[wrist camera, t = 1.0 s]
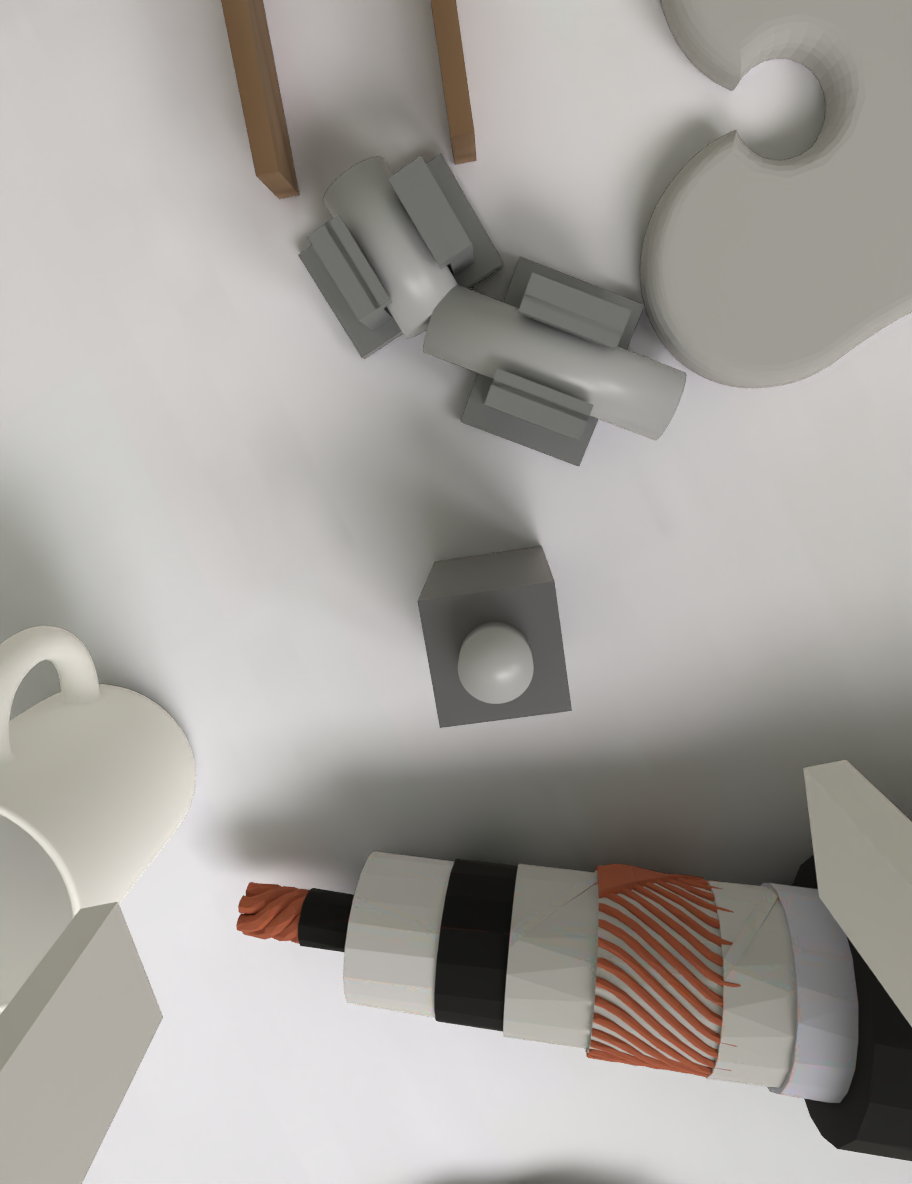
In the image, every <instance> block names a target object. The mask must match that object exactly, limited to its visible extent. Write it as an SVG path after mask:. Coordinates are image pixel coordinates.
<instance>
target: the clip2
mask: <svg viewBox="0 0 912 1184" xmlns="http://www.w3.org/2000/svg"><path fill="white" fill-rule="evenodd" d="M323 202H324V204H325V206H326V207H327V209H328V211H329V212H330V214H331V216H332V217H333V219H331V220H330V221H328V222H327V223H326V224H324V225H323V226H321V227H320V228H319V229H317V230H316V231H314V232H313V233H312V234H310V235H309V236H307V238H308V239H309V241H310V242H311V244H312V246H310V247H309V248H307V249H306V250H305V251H303V252H302V253H300V254H299V257H300V259H301V260H302V262H303V263H304V265H305V267H306V268H307V270H308V272H309V273H310V275H311V276H312V278H313V280H314V281H315V283H316V284H317V286H318V288H319V289H320V291H321V292H322V294H323V296H324V297H325V299H326V301H327V302H328V304H329V305H330V307H331V309H332V310H333V312H334V313H335V315H336V317H337V318H338V320H339V321H340V323H341V325H342V326H343V328H344V330H345V331H346V333H347V334H348V336H349V338H350V339H351V341H352V342H353V344H354V346H355V347H356V349H357V350H358V352H359V354H360V355H361V357H362V358H364V359H365V358H367V357H368V356H370V355H371V354H373V353H374V352H376V351H377V350H379V349H380V348H382V347H383V346H385V345H386V344H388V343H389V342H391V341H392V340H394V339H395V338H397V337H398V336H400V335H401V334H404V336H405V337H406V339H408V338H412V337H414V336H417V335H419V334H421V333H423V332H424V331H426V330H427V328H428V325H429V321H430V318H431V315H432V314H433V310H434V308H435V307H436V306H437V305H438V303H439V302H440V301H441V300H442V299H443V297H444V296H445V295H446V294H447V293H448V292H449V291H450V290H451V289H452V288H453V287H455V286H456V285H460V286H462V287H465V288H467V289H470V288H471V287H473V286H474V285H476V284H477V283H479V282H480V281H482V280H483V279H485V278H486V277H488V276H489V275H490V274H492V273H493V272H495V271H496V270H498V269H499V268H501V267H502V266H503V261H502V259H501V258H500V256H499V254H498V252H497V251H496V249H495V247H494V245H493V244H492V242H491V240H490V238H489V237H488V235H487V233H486V231H485V230H484V228H483V226H482V224H481V223H480V221H479V219H478V217H477V216H476V214H475V212H474V210H473V209H472V207H471V205H470V203H469V202H468V200H467V198H466V196H465V195H464V193H463V191H462V189H461V188H460V186H459V184H458V182H457V181H456V179H455V177H454V176H453V174H452V172H451V170H450V169H449V167H448V165H447V163H446V162H445V160H444V158H443V156H442V155H441V154H440V155H438V156H437V157H435V158H434V159H433V160H431V161H430V162H428V163H427V164H426V163H425V161H424V160H423V158H422V156H419V157H418V158H417V159H415V160H414V161H412V162H411V163H410V164H408V165H407V166H405V167H404V168H403V169H401V170H400V171H398V172H397V173H396V174H394V175H393V173H392V171H391V169H390V168H389V166H388V164H387V163H386V161H385V159H384V158H383V157H372V158H369V159H366V160H364V161H362V162H360V163H358V164H356V165H354V166H353V167H351V168H350V169H348V170H347V171H345V172H344V173H343V174H342V175H340V176H339V177H338V178H337V179H336V180H335V181H334V182H333V183H332V184H331V186H330V187H329V188H328V190H327V191H326V193H325V195H324V198H323Z"/></svg>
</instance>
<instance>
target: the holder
mask: <svg viewBox="0 0 912 1184" xmlns="http://www.w3.org/2000/svg"><path fill="white" fill-rule="evenodd" d="M661 4H662V8H663V11H664V14H665V17H666V20H667V23H668V25H669V28H670V30H671V32H672V34H673V36H674V38H675V40H676V41H677V43H678V45H679V46H680V48H681V49H682V51H683V52H684V54H685V55H686V56H687V57H688V59H689V60H690V61H691V62H692V63H693V64H694V65H695V66H696V67H697V68H698V69H699V70H700V71H701V72H702V73H703V74H705V75H706V76H707V77H709V78H710V79H711V80H713V81H714V82H715V83H717V84H719V85H721V86H723V87H725V88H727V89H729V90H731V91H732V90H734V89H735V87H736V86H737V84H738V83H739V81H740V80H741V78H742V77H743V76H744V75H745V74H746V73H747V72H748V71H749V70H750V69H751V68H753V67H755V66H756V65H758V64H760V63H762V62H763V61H767V60H772V59H790V60H793V61H796V62H799V63H801V64H802V65H804V66H805V67H807V68H808V69H809V70H811V71H812V73H813V74H814V75H815V76H816V78H817V79H818V80H819V82H820V85H821V87H822V90H823V92H824V97H825V104H826V111H825V121H824V124H823V127H822V130H821V133H820V134H819V136H818V138H817V139H816V141H815V142H814V144H813V146H812V147H811V148H810V149H809V150H807V151H806V152H804V153H803V154H801V155H799V156H797V157H793V158H790V159H787V160H772V159H767V158H763V157H761V156H759V155H758V154H756V153H754V152H753V151H751V150H750V149H749V148H748V147H747V146H746V145H745V144H744V143H743V142H742V140H741V138H740V137H739V135H738V133H737V131H736V130H734V131H732V132H730V133H728V134H726V135H724V136H722V137H720V138H719V139H717V140H715V141H714V142H712V143H711V144H709V145H708V146H706V147H705V148H704V149H702V150H701V151H700V152H699V153H697V154H696V155H695V156H694V157H693V158H692V159H691V160H690V161H689V162H688V163H687V164H686V165H685V166H684V167H683V168H682V169H681V170H680V172H679V173H678V174H677V175H676V177H675V178H674V179H673V180H672V182H671V183H670V185H669V186H668V187H667V189H666V190H665V192H664V193H663V195H662V196H661V198H660V200H659V202H658V204H657V205H656V207H655V210H654V212H653V214H652V216H651V219H650V221H649V224H648V227H647V230H646V234H645V238H644V242H643V247H642V254H641V265H640V276H641V289H642V295H643V300H644V304H645V308H646V311H647V314H648V316H649V319H650V321H651V324H652V326H653V328H654V330H655V331H656V333H657V335H658V337H659V338H660V340H661V341H662V343H663V344H664V345H665V347H666V348H667V349H668V350H669V351H670V352H671V354H672V355H673V356H674V357H675V358H677V359H678V360H679V361H680V362H681V363H682V364H683V365H685V366H686V367H687V368H689V369H690V370H692V371H693V372H695V373H697V374H698V375H700V376H702V377H704V378H706V379H709V380H711V381H714V382H717V383H720V384H724V385H728V386H733V387H741V388H764V387H772V386H779V385H784V384H788V383H792V382H796V381H799V380H801V379H804V378H807V377H809V376H811V375H813V374H816V373H818V372H819V371H821V370H823V369H825V368H826V367H828V366H830V365H831V364H833V363H834V362H835V361H837V360H838V359H839V358H841V357H842V356H844V355H845V354H846V353H848V352H849V351H850V350H852V349H853V348H854V347H856V346H857V345H859V344H860V343H862V342H863V341H864V340H866V339H867V338H869V337H870V336H872V335H873V334H875V333H876V332H878V331H879V330H881V329H883V328H884V327H886V326H888V325H889V324H891V323H893V322H894V321H896V320H898V319H899V318H901V317H903V316H905V315H907V314H909V313H911V312H912V0H661Z"/></svg>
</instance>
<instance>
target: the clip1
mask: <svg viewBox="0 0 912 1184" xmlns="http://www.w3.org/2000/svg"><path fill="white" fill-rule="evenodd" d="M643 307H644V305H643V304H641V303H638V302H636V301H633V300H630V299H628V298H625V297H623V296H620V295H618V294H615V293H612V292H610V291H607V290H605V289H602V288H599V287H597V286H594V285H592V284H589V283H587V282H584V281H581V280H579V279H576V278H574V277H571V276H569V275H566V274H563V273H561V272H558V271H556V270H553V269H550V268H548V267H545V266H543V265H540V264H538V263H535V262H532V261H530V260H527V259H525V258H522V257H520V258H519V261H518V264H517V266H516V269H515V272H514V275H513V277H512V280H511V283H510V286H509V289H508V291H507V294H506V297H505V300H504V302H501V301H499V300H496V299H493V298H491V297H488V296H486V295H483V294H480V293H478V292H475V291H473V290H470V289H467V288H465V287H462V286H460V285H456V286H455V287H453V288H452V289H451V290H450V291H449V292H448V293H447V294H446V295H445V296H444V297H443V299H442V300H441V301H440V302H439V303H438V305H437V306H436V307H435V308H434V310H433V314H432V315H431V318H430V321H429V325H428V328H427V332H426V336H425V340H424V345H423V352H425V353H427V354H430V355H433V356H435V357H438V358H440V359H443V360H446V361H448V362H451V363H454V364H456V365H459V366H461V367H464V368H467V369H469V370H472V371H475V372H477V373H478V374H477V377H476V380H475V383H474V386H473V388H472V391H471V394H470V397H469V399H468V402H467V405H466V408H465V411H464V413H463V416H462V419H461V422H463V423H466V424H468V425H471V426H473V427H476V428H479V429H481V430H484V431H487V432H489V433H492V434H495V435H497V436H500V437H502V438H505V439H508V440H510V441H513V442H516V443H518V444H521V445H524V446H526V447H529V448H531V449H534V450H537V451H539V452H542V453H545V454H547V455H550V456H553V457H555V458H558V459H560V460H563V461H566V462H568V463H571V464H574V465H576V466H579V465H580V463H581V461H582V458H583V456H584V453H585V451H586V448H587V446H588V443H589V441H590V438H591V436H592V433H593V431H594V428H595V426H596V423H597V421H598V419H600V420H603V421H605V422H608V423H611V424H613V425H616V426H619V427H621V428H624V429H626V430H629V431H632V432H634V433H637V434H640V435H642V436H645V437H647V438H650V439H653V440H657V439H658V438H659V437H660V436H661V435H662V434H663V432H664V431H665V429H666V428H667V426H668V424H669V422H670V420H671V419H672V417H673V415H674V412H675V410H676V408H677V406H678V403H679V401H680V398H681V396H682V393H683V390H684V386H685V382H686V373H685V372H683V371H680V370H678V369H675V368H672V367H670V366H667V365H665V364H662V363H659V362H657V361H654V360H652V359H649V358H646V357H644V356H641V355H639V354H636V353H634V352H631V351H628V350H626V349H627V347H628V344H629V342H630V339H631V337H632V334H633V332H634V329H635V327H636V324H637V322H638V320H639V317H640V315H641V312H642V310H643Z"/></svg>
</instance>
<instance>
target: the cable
mask: <svg viewBox="0 0 912 1184" xmlns="http://www.w3.org/2000/svg"><path fill="white" fill-rule="evenodd" d="M238 908H239V912H240V913H244V914H240V916H239V918H238V921H237V930H239V931H242V932H243V934H244V935H249V936H253V937H257V938H261V939H268V938H271V937H272V938H274V939H277V940H279V941H289V940H291V941H292V942H295V943H299V944H300V946H306V947H313V948H320V949H326V950H333V951H340V952H345V953H344V971H343V982H344V993H345V997H346V1000H347V1003H353V1004H359V1005H365V1006H370V1007H376V1008H382V1009H388V1010H394V1011H400V1012H406V1013H411V1014H417V1015H423V1016H429V1017H435V1019H436V1021H438V1022H445V1023H452V1024H458V1025H465V1026H471V1027H478V1028H484V1029H491V1030H498V1031H503V1035H504V1037H511V1038H517V1039H524V1040H531V1041H538V1042H545V1043H552V1044H559V1045H566V1046H573V1047H580V1048H586V1052H587V1057H588V1058H593V1059H599V1060H605V1061H611V1062H621V1063H626V1064H630V1065H636V1066H646V1067H650V1068H654V1069H664V1070H671V1071H676V1072H682V1073H689V1074H695V1075H699V1076H703V1077H706V1078H708V1079H715V1080H723V1081H730V1082H738V1083H745V1084H752V1085H760V1086H767V1087H768V1089H769V1091H770V1092H774V1093H778V1094H782V1095H788V1096H793V1097H799V1098H804V1099H805V1102H806V1105H807V1108H808V1111H809V1114H810V1116H811V1118H812V1120H813V1121H814V1123H815V1125H816V1126H817V1128H818V1130H819V1131H820V1133H821V1135H822V1136H823V1137H824V1138H825V1139H826V1140H827V1141H829V1142H830V1143H831V1144H832V1145H834V1146H835V1147H836V1148H837V1149H842V1150H848V1151H854V1152H860V1153H866V1154H872V1155H878V1156H884V1157H890V1158H896V1159H902V1160H908V1161H912V1027H911V1025H910V1024H909V1022H908V1021H907V1020H906V1018H905V1017H904V1015H903V1014H902V1013H901V1011H900V1010H899V1008H898V1007H897V1006H896V1004H895V1003H894V1001H893V1000H892V999H891V997H890V996H889V994H888V993H887V992H886V990H885V989H884V987H883V986H882V985H881V983H880V982H879V980H878V979H877V977H876V976H875V975H874V973H873V972H872V970H871V969H870V968H869V966H868V965H867V963H866V962H865V961H864V959H863V958H862V956H861V955H860V954H859V952H858V951H857V949H856V948H855V947H854V945H853V944H852V942H851V941H850V940H849V938H848V937H847V935H846V934H845V933H844V931H843V930H842V928H841V927H840V925H839V924H838V923H837V921H836V920H835V918H834V917H833V916H832V914H831V913H830V911H829V910H828V909H827V907H826V906H825V904H824V903H823V902H822V900H821V899H820V897H819V892H818V884H817V876H816V868H815V860H814V856H811V857H810V858H809V859H807V860H806V861H805V862H804V863H803V864H801V866H800V868H799V871H798V873H797V876H796V878H795V881H794V883H793V886H789V885H782V884H774V883H762V884H761V886H757V885H747V884H737V883H727V882H719V881H711V880H704V878H703V877H697V876H690V875H678V874H665V873H660V872H656V871H652V870H648V869H644V868H640V867H636V866H632V865H624V864H609V865H602V866H596V869H595V872H587V871H578V870H570V869H561V868H552V867H544V866H535V865H527V864H518V866H514V865H505V864H497V863H488V862H479V861H471V860H462V859H456V860H455V862H454V861H447V860H439V859H431V858H423V857H415V856H407V855H400V854H392V853H384V852H376V851H374V852H373V853H371V854H370V855H369V856H368V859H367V861H366V863H365V865H364V867H363V869H362V872H361V874H360V877H359V881H358V884H357V888H356V891H355V895H352V894H346V893H340V892H334V891H328V890H322V889H316V888H312V889H311V890H306V889H298V888H295V887H285V886H283V887H281V886H279V885H275V884H258V883H253V882H250V883H249V885H248V887H247V890H246V896H243V897H242V898H241V900H240V902H239V906H238Z"/></svg>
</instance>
